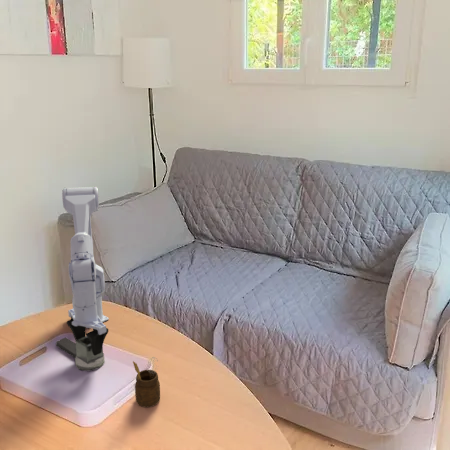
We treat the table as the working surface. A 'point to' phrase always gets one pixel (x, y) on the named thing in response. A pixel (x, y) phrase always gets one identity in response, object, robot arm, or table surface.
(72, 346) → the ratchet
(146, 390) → the utensil holder
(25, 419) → the table surface
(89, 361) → the hollow square tube
